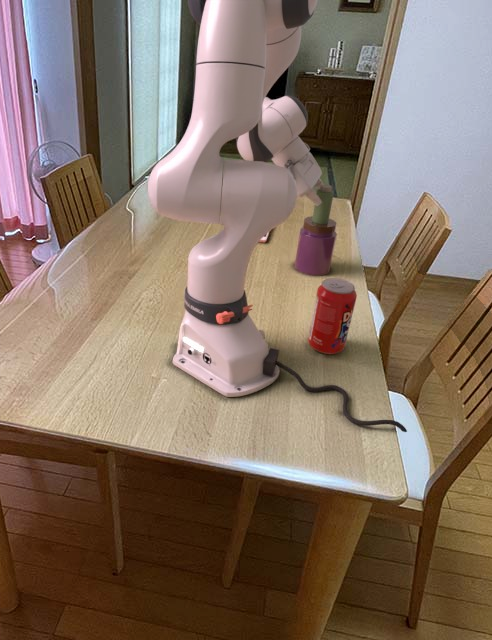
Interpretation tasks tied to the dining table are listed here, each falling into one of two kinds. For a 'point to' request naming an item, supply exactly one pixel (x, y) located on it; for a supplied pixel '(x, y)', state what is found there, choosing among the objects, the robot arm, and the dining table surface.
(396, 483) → the dining table surface
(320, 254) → the plum jar
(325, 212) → the green shaker
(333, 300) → the soda can
